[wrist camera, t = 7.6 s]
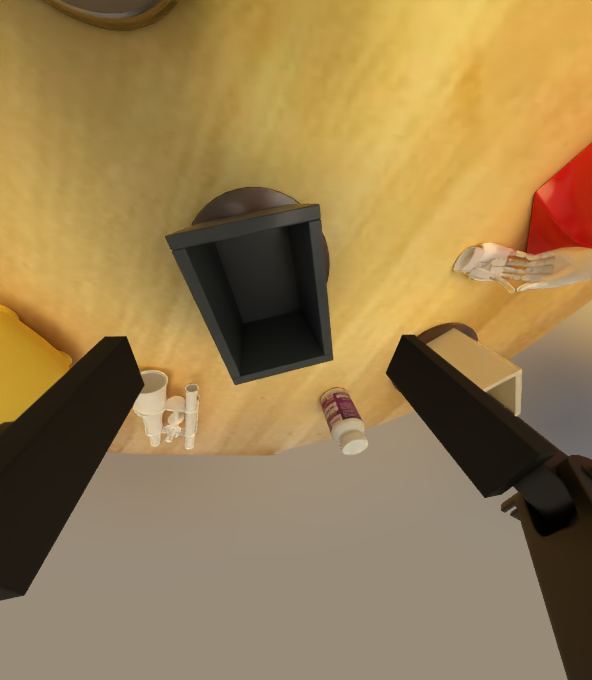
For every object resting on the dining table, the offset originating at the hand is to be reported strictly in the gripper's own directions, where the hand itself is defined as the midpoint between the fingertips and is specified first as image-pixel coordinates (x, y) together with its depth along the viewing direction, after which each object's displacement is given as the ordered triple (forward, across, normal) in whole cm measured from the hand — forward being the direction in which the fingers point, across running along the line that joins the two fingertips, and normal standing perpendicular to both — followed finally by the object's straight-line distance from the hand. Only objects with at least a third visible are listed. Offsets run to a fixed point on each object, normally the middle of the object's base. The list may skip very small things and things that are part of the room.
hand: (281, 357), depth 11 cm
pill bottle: (+17, +13, -22) cm, 31 cm away
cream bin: (+16, +32, -15) cm, 39 cm away
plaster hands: (+10, +30, +4) cm, 31 cm away
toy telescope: (+11, -14, -21) cm, 27 cm away
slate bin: (+16, 0, -1) cm, 16 cm away
